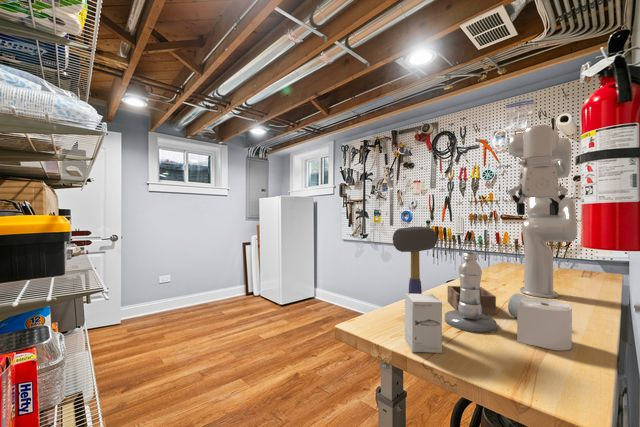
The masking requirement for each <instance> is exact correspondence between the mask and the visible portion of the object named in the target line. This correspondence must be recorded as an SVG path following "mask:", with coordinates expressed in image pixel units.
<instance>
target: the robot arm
mask: <svg viewBox="0 0 640 427" xmlns="http://www.w3.org/2000/svg"><path fill="white" fill-rule="evenodd" d="M507 147H508V151H509V154H510V156H512V157H513V158H522V160H519V161H518V164H519V166H521V167H520V171H519V177H518V185H516V186H515V187H513V188H511V189H508V190H507V194H508V195H509V197H510V200H512V201H514V203H515V204H516V213H517V216H525V215H526V213H527V217H529V218H527V219H524V221H523V222H522V223H521V232H522V237H523V238H522V239H523V249H524V251H523V252H524V254H523V255H524V257H523V258H524V261H523V263H524V265H523V268H524V269H523V270H524V272H523V274H524V275H523V277H524V278H523V279H524V280H523V281H522V282H523V284H524V285H523V287H520V288H519V292H520V293H521V294H523V295H526V296H527V295H529V296H532V297H536V298H544V299H549V298H551V299H553V298H554V299H555V298H558V297H559V293H558V292H557V291H555V290H554V252H553V250H552V248H551V247H550V246H549V245H548V244H546V242H555V243H557V242H559V243H572V242H574V241H575V240H576V239H577V237H578V225H577V224H578V222H577V210H576V205H575V201H574V200H573V199H572V198H570V197H568V196H567V197H566V195H567V193H568V192H569V189H568V188H566V187H563V186H561V185H559V179H565V178H567V177H568V176H569V175H570V173H571V168H572V167H571V164H572V143H571V141H570V140H569V139H568V138H566V137H559V133H557V132H556V131H555V129H553V128H552V126H551V125H548V124H537V125H532V126H530V127H527V128H526V129H525V130H523V132H522V133H517V134H514V135H511V136H510V137H509V139H508V144H507ZM516 192H517V194H518V196H517V195H516ZM525 201H526V204H525V203H524V202H525ZM525 207H526V208H525Z"/></svg>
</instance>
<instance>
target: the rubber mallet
mask: <svg viewBox="0 0 640 427" xmlns="http://www.w3.org/2000/svg"><path fill="white" fill-rule="evenodd" d="M437 242H438V236H437V233H436V231H435V230H434V229H433V228H432V227H428V226H408V227H402V228H401V227H400V228H398V229H396V230H395V231H394V232H393V236H392V243H393V246H394V248H395V249H396V250H397V251H398V252H402V253H410V278H409V281H408V294H423V293H422V290H423V289H422V281H421V278H420V277H421V276H420V269H421V268H420V252H423V251H428V250H432V249H433V248H435V246H436V245H437Z"/></svg>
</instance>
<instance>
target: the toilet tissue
mask: <svg viewBox="0 0 640 427" xmlns="http://www.w3.org/2000/svg"><path fill="white" fill-rule="evenodd" d="M516 323H517V324H516V327H517V328H516V330H517V331H516V334H517V335H516V337H517V339H516V342H518V343H523V344H526V345H531V346H536V347H538V348H543V349H547V350H551V351H552V350H553V351H569V350H571V349H572V348H573V308H572V306H571V305H569V304H567V303H565V302H560V301H558V300H552V299H549V298H543V297H530V298H522V299H521V300H520V306H519V305H517V318H516Z"/></svg>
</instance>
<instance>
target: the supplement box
mask: <svg viewBox="0 0 640 427" xmlns="http://www.w3.org/2000/svg"><path fill="white" fill-rule="evenodd" d="M404 340H405V343H406V344H407V346H408V347H409V349H410V351H411V352H412V353H433V354H434V353H435V354H442V352H443V351H442V350H443V302H442V301H441V300H440V299H439V298H438V297H436V296H435V295H434V294H433V293H422V294H409V293H404Z"/></svg>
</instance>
